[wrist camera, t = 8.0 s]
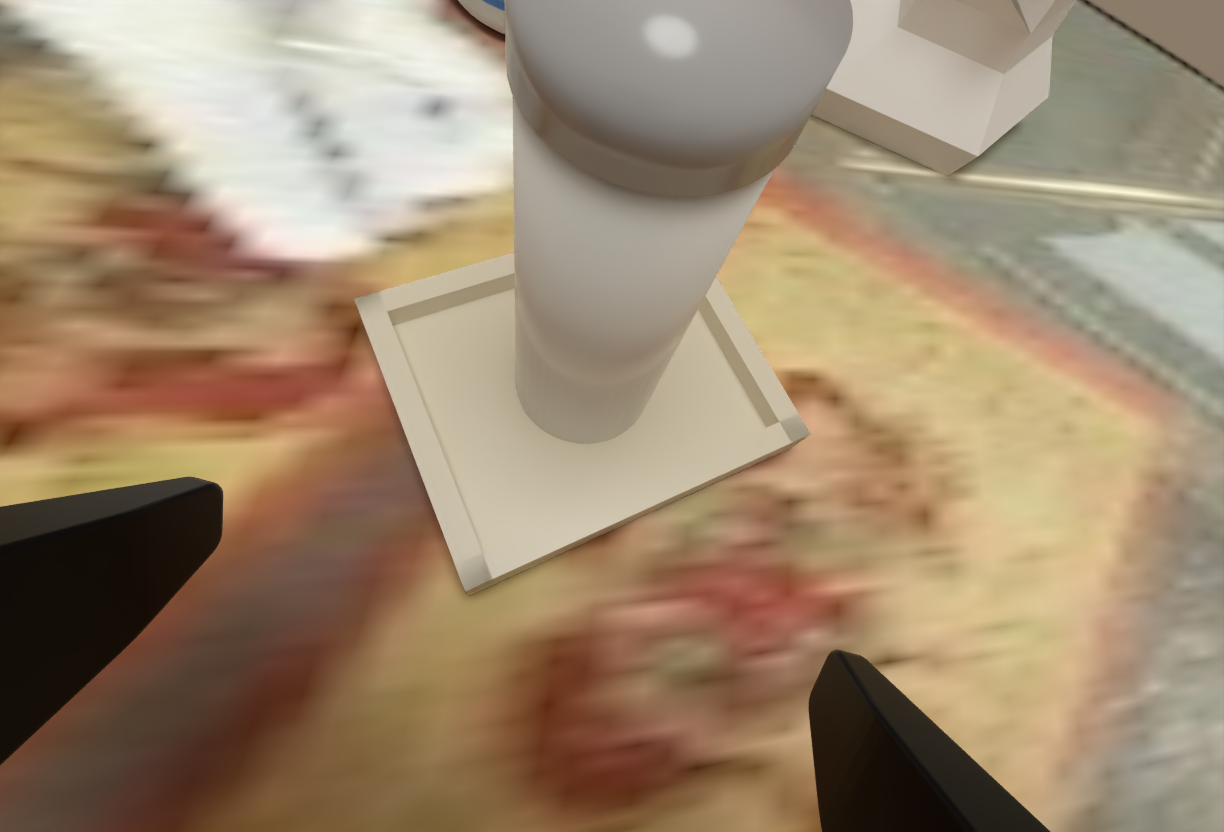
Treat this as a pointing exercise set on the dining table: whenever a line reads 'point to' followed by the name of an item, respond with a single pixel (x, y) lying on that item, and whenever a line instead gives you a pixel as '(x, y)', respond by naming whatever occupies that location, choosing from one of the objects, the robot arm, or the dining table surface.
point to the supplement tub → (487, 12)
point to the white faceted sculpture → (942, 74)
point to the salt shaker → (641, 178)
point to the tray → (538, 462)
